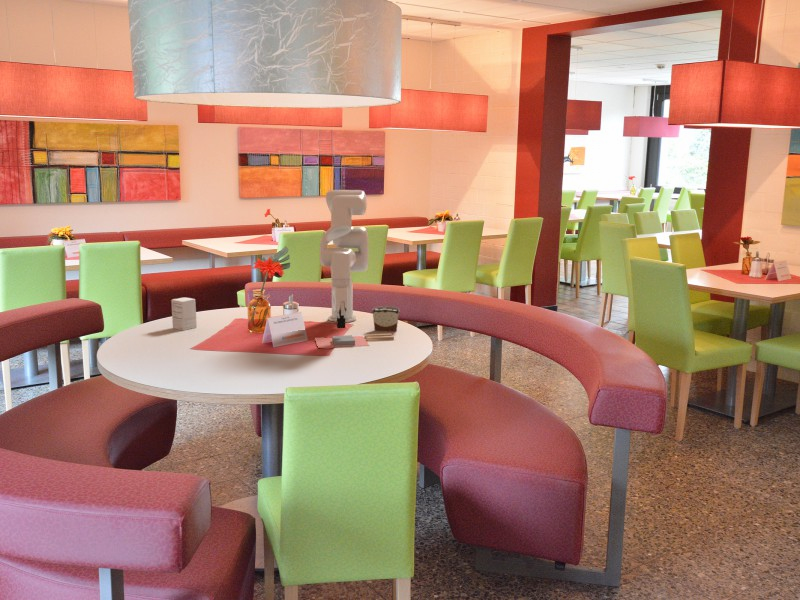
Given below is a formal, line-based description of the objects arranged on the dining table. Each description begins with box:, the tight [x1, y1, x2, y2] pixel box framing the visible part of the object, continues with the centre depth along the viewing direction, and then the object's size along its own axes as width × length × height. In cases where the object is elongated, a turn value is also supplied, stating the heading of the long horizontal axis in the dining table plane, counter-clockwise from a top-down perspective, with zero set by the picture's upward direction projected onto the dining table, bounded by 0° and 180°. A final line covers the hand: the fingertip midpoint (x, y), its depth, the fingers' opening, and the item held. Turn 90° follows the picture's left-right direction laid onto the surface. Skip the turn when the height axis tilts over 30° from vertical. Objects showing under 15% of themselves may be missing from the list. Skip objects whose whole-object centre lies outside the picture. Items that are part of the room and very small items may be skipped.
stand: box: [364, 333, 395, 342], centre depth 314 cm, size 6×11×2 cm, turn 102°
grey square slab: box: [331, 334, 355, 347], centre depth 305 cm, size 2×9×8 cm
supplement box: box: [170, 296, 197, 331], centre depth 330 cm, size 7×7×13 cm
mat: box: [314, 335, 370, 349], centre depth 308 cm, size 16×20×1 cm
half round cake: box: [371, 305, 401, 332], centre depth 330 cm, size 12×6×10 cm, turn 84°
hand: (341, 327), depth 307 cm, fingers closed
